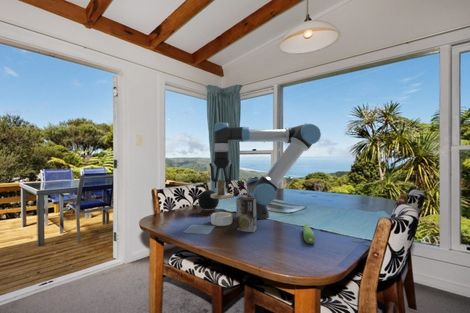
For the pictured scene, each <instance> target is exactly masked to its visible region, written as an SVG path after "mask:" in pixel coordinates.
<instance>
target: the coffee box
mask: <svg viewBox="0 0 470 313" xmlns="http://www.w3.org/2000/svg"><path fill="white" fill-rule="evenodd" d="M235 201H236V203H235V204H236V207H235V208H236V210H235V211H236V230H237V231H241V232H244V233H245V232H246V233H255V231H257V220H258V219H256V198H254V197H247V196H239V197H238V198H236V200H235Z"/></svg>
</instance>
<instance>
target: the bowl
mask: <svg viewBox="0 0 470 313" xmlns="http://www.w3.org/2000/svg"><path fill="white" fill-rule="evenodd" d="M210 223H211V225H212V226H219V227H220V226H221V227H224V226H230V225H231V224H232V223H233V213H230V212H227V211H226V212H223V211H220V212H218V211H217V213H213V214H212V215H211V216H210Z"/></svg>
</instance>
